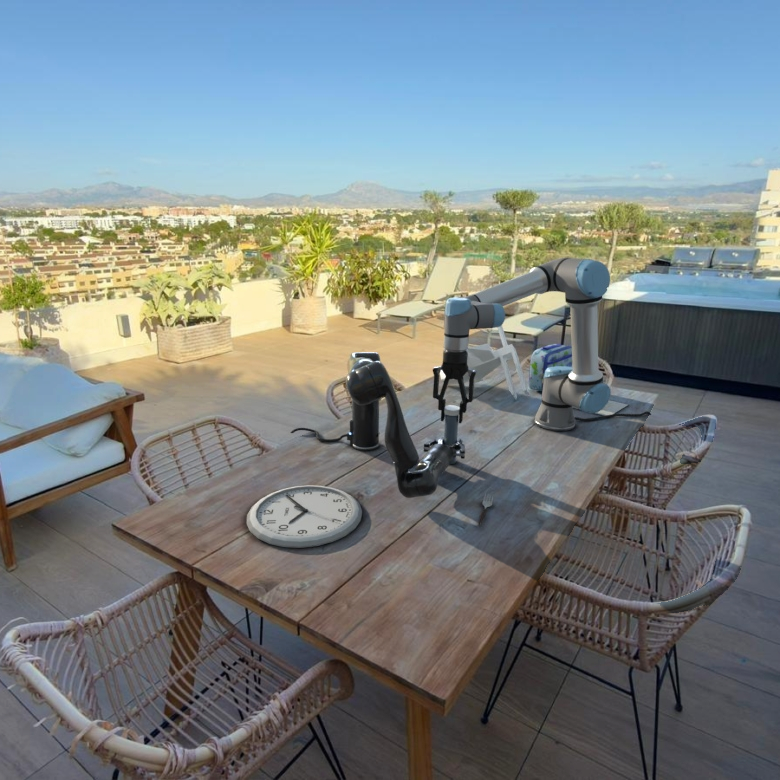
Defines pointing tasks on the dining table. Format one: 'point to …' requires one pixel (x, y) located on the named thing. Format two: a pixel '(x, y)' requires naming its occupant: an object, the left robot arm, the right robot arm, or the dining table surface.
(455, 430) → the bottle
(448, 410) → the lid
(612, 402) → the invitation card
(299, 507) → the wall clock
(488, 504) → the fork
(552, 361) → the lunch box
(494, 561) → the dining table surface
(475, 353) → the white plastic object
